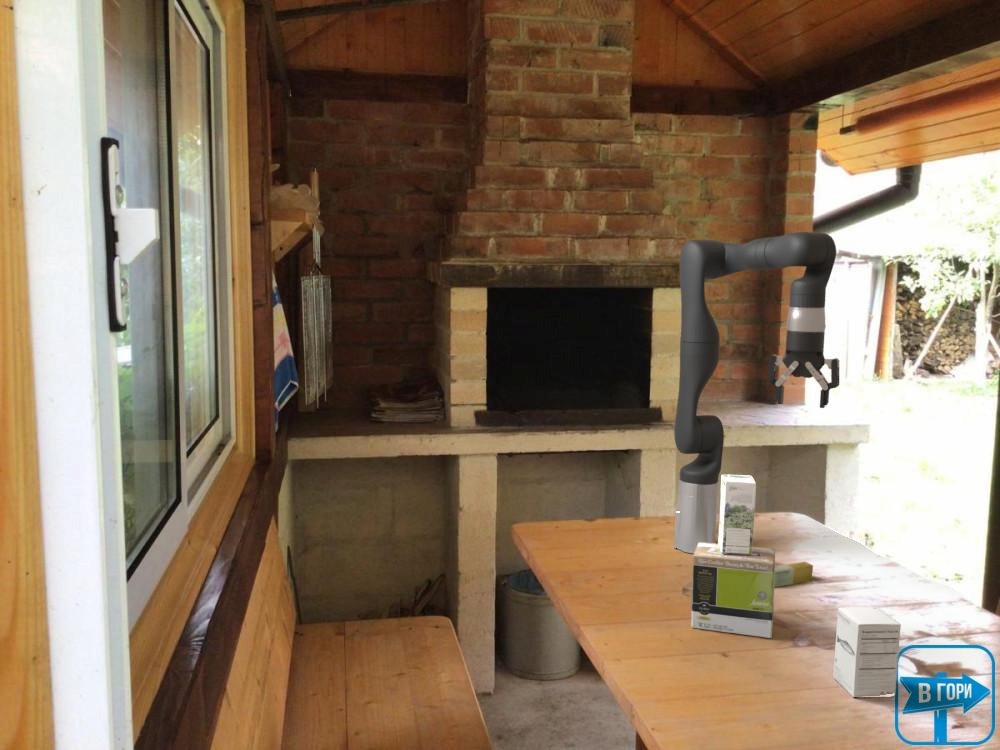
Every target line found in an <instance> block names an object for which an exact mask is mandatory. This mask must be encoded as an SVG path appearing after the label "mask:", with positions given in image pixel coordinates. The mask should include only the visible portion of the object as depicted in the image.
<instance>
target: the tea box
mask: <svg viewBox="0 0 1000 750" xmlns="http://www.w3.org/2000/svg"><path fill="white" fill-rule="evenodd" d="M775 566H776V549H775V548H771V547H770V548H768V547H759V546H758V547H757V546H752V555H735V554H722V552H721V550H720V548H719V546H718V543H716V542H715V543H706V542H698V545H697V548H696V550H695V553H694V554H693V556H692V578H693V579H692V578H691V579H692V596H691V616H690V617H691V623H690V624H691V625H690V626H691V628H692V629H699V630H704V631H705V630H707V631H715V632H721V633H722V632H723V633H729V634H737V635H743V636H744V635H746V636H751V637H752V636H753V637H759V638H760V637H761V638H766V639H772V637H773V636H772V635H773V621H774V618H773V617H774V607H775V606H774V604H775V602H774V601H775V587H774V580H775Z"/></svg>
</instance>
